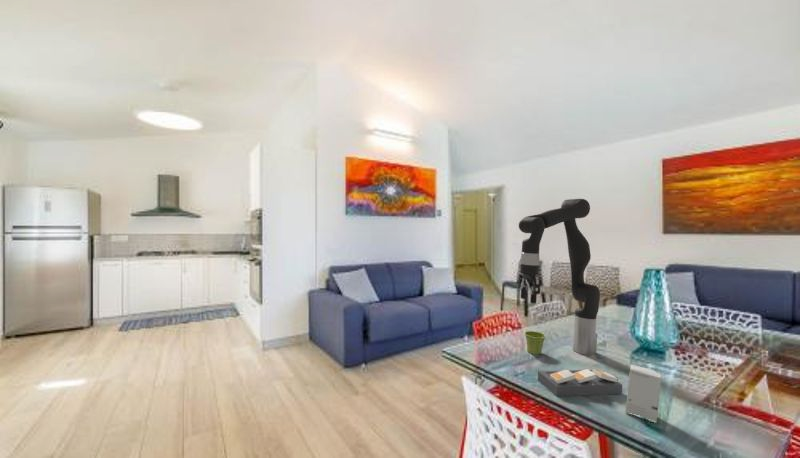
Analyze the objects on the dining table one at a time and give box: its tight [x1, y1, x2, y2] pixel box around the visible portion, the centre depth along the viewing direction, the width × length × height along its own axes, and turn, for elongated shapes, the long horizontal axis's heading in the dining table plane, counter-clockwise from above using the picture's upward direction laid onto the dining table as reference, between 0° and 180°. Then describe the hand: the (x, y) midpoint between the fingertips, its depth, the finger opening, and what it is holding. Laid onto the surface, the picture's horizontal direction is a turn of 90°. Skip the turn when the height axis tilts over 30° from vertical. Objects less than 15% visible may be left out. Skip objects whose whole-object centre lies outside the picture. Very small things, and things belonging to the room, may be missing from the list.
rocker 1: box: [550, 369, 575, 384], centre depth 120 cm, size 7×4×2 cm, turn 98°
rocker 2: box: [573, 368, 596, 383], centre depth 121 cm, size 7×4×2 cm, turn 98°
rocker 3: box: [591, 368, 619, 382], centre depth 122 cm, size 7×4×2 cm, turn 99°
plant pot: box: [524, 330, 547, 355], centre depth 157 cm, size 9×9×9 cm
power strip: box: [537, 369, 623, 397], centre depth 124 cm, size 32×12×4 cm, turn 98°
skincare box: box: [625, 364, 662, 423], centre depth 106 cm, size 8×6×15 cm
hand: (528, 300), depth 141 cm, fingers open, 8 cm apart
